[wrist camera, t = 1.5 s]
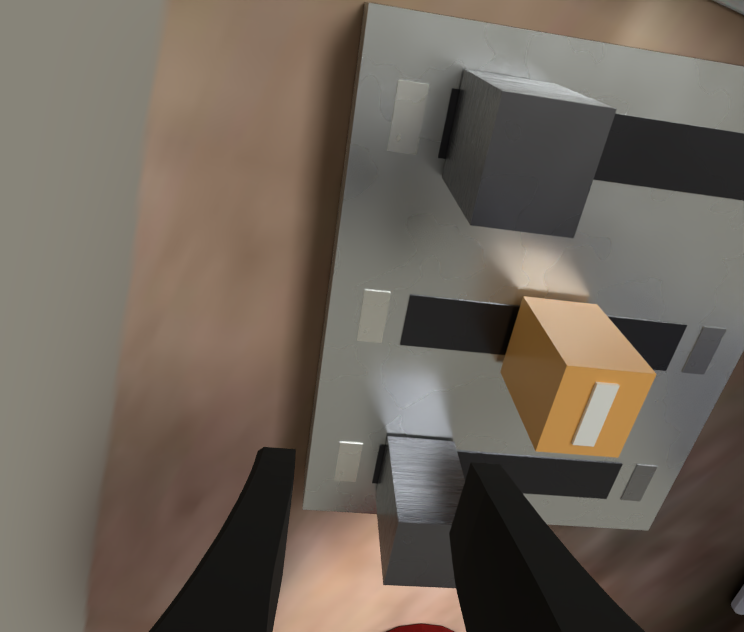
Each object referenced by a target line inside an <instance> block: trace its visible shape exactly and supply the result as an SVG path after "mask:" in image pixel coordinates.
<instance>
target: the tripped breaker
mask: <svg viewBox="0 0 744 632" xmlns="http://www.w3.org/2000/svg"><path fill="white" fill-rule="evenodd" d="M500 373H501V375H502V377H503V379H504V382H505V384H506V386H507V388H508V391H509V393H510V395H511V397H512V400H513V402H514V404H515V406H516V409H517V411H518V413H519V415H520V418H521V420H522V422H523V424H524V427H525V429H526V431H527V433H528V436H529V438H530V440H531V442H532V445H533V447H534V449H535V451H537V452H550V453H563V454H576V455H589V456H602V457H615V458H618V457H619V455H620V453H621V451H622V449H623V447H624V444H625V442H626V440H627V438H628V436H629V433H630V431H631V429H632V427H633V425H634V422H635V420H636V418H637V416H638V414H639V412H640V409H641V407H642V405H643V403H644V401H645V398H646V396H647V394H648V392H649V390H650V387H651V385H652V383H653V381H654V379H655V377H656V373H655V372H654V370H653V369H652V368H651V367H650V366H649V364H648V363H647V362H646V361H645V360H644V359H643V357H642V356H641V355H640V354H639V353H638V352H637V350H636V349H635V348H634V347H633V346H632V345H631V343H630V342H629V341H628V340H627V339H626V337H625V336H624V335H623V334H622V333H621V332H620V330H619V329H618V328H617V327H616V326H615V325H614V323H613V322H612V321H611V320H610V319H609V318H608V316H607V315H606V314H605V313H604V312H603V311H602V309H601V308H600V307H599V306H598V305H597V304H590V303H581V302H572V301H563V300H554V299H545V298H536V297H527V296H523V299H522V302H521V305H520V309H519V312H518V315H517V318H516V322H515V325H514V328H513V331H512V335H511V338H510V341H509V345H508V348H507V351H506V354H505V358H504V361H503V364H502V368H501V371H500Z"/></svg>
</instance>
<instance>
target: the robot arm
mask: <svg viewBox="0 0 744 632" xmlns="http://www.w3.org/2000/svg"><path fill="white" fill-rule="evenodd" d="M295 452H296V449H284V448H270V447H263V448H262V449H260V450H259V451H258V452H257V455H256V459H255V462H254V465H253V467H252V470H251V472H250V475H249V477H248V479H247V481H246V484H245V486H244V488H243V490H242V492H241V494H240V496H239V498H238V500H237V502H236V504H235V505H234V507H233V509H232V511H231V512H230V514H229V516H228V518H227V520H226V521H225V523H224V525H223V527H222V528H221V530H220V532H219V533H218V535H217V537H216V538H215V540H214V542H213V543H212V545H211V546H210V548H209V549H208V551H207V552H206V554H205V555H204V557H203V558H202V560H201V561H200V563H199V565H198V566H197V568H196V569H195V571H194V572H193V574H192V575H191V577H190V578H189V579H188V581H187V582H186V584H185V585H184V586H183V588H182V589H181V591H180V592H179V593H178V595H177V596H176V597H175V599H174V600H173V601H172V603H171V604H170V605H169V607H168V608H167V609H166V611H165V612H164V613H163V614H162V616H161V617H160V618H159V620H158V621H157V622H156V623H155V625H154V626H153V627H152V628H151V630H150V631H149V632H272V631H273V625H274V620H275V614H276V609H277V603H278V598H279V592H280V586H281V581H282V575H283V567H284V558H285V549H286V541H287V532H288V524H289V515H290V507H291V498H292V490H293V481H294V469H295ZM449 537H450V546H451V555H452V564H453V571H454V579H455V585H456V590H457V594H458V598H459V603H460V607H461V611H462V615H463V619H464V624H465V628H466V632H645V631H644V630H643V629H642V628H641V627H640V626H638V625H637V624H636V623H635V622H634V621H633V620H632V619H631V618H630V617H629V616H628V615H627V614H626V613H625V612H624V611H623V610H622V609H621V608H620V607H619V606H618V605H617V604H616V603H615V602H614V601H613V600H612V599H611V598H610V596H609V595H608V594H607V593H606V592H605V591H604V590H603V589H602V588H601V587H600V586H599V584H598V583H597V582H596V581H595V580H594V579H593V578H592V577H591V576H590V575H589V574H588V572H587V571H586V570H585V569H584V568H583V567H582V566H581V565H580V563H579V562H578V561H577V560H576V559H575V558H574V557H573V555H572V554H571V553H570V552H569V551H568V549H567V548H566V547H565V546H564V545H563V543H562V542H561V541H560V540H559V539H558V537H557V536H556V535H555V534H554V533H553V531H552V530H551V529H550V528H549V526H548V525H547V524H546V523H545V521H544V520H543V519H542V518H541V516H540V515H539V514H538V513H537V511H536V510H535V509H534V507H533V506H532V505H531V504H530V502H529V501H528V500H527V498H526V497H525V496H524V495H523V493H522V492H521V491H520V489H519V488H518V487H517V486H516V484H515V483H514V482H513V480H512V479H511V478H510V477H509V475H508V474H507V473H506V471H505V470H504V469H503V468H502V466H501V465H500V464H488V463H474V462H471V463H470V466H469V470H468V473H467V476H466V480H465V483H464V486H463V489H462V493H461V496H460V499H459V503H458V506H457V509H456V513H455V516H454V519H453V522H452V526H451V529H450V532H449ZM731 607H732V608H733V610H734V611H735V613H737V614H740V615H744V585H743V586H742V588H741V589H740V591H739V592H738V594H737V595H736V596H735V598H734V599H733V601H732V603H731Z"/></svg>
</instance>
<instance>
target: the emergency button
mask: <svg viewBox="0 0 744 632" xmlns="http://www.w3.org/2000/svg"><path fill="white" fill-rule="evenodd" d="M713 1H715V2H717V3H719V4H721V5H723V6H726V7H728V8H730V9H732V10H734V11H736V12H738V13H740V14H742V15H744V0H713Z"/></svg>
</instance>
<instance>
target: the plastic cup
mask: <svg viewBox="0 0 744 632" xmlns="http://www.w3.org/2000/svg"><path fill="white" fill-rule="evenodd" d="M388 632H454V631H452V630H450V629H447V628H445V627H443V626H436V625H427V624H417V625H409V626H402V627H398V628H395V629H393V630H390V631H388Z"/></svg>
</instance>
